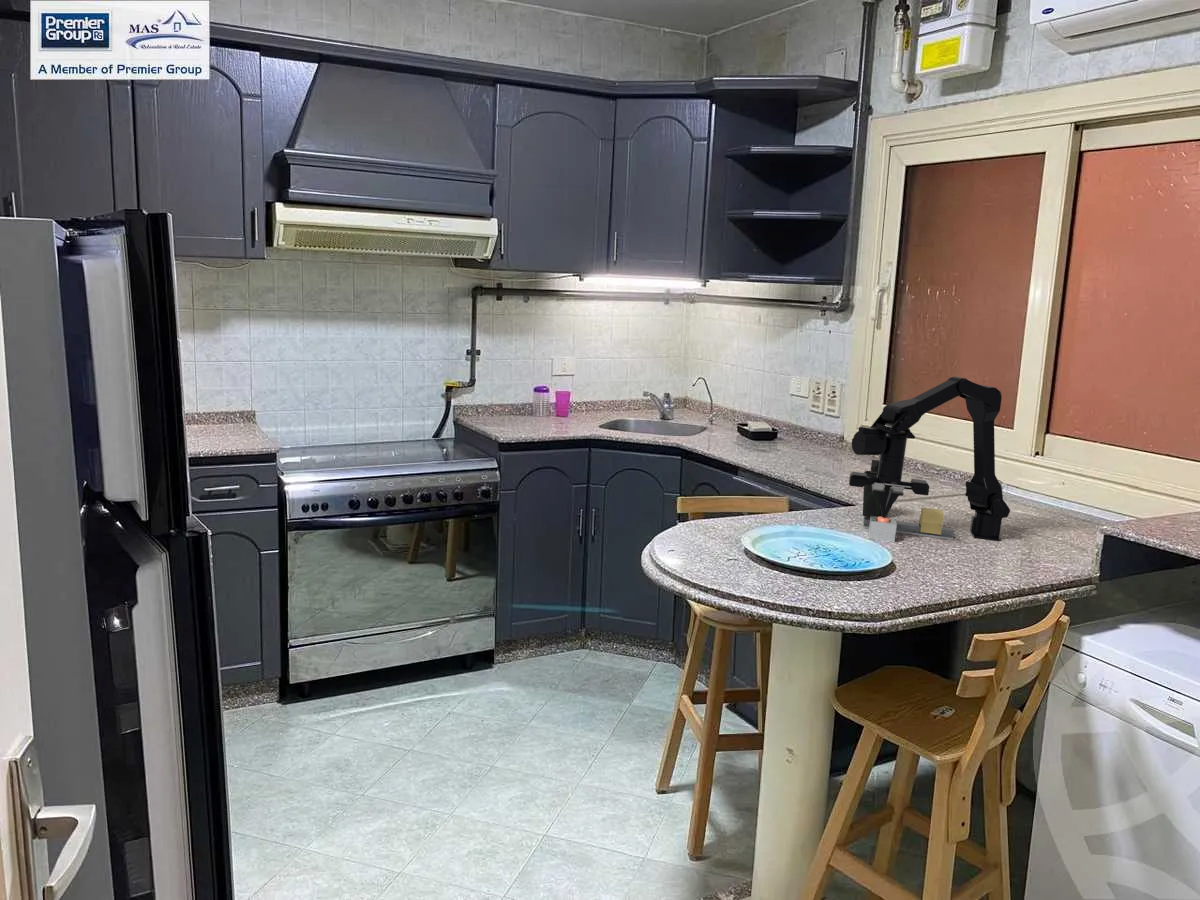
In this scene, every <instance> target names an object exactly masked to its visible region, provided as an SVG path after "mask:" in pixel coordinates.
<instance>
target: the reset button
mask: <svg viewBox="0 0 1200 900" xmlns="http://www.w3.org/2000/svg"><path fill="white" fill-rule="evenodd" d="M890 519H891V518H890V517H887V516H886V518H884V517H882V516H878V521H882V522H889V520H890Z"/></svg>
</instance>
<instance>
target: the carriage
mask: <svg viewBox="0 0 1200 900" xmlns="http://www.w3.org/2000/svg"><path fill="white" fill-rule="evenodd" d="M919 515H920V516H919V523H918V524H920V525H921V529H920V532H925V533H932V534H940V535H941V530H942V527H943V521H944V516H945V514H944V512H943V510H942V509H938V508H930V507H922V506H921V509H920V514H919Z"/></svg>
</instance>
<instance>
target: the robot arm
mask: <svg viewBox="0 0 1200 900" xmlns="http://www.w3.org/2000/svg"><path fill="white" fill-rule="evenodd" d="M957 397H960V398H961V399H963V400H965V404H966V409H967V412H968V414H969V416H970V417H971V419H972V425H973V427H972V428H973V429H972V430H973V432H972V433H973V473H974V474H973V476H972V478H971V479H970V480H966V482H965V489H966V490H965V495H964V496H965V497H967V501H968V502H969V506H970V510H971V511H974V515H973V516H971V521H970V528H969V531H970V533H971V535H972V537H973V538H977V539H978V538H979V539H984V540H993V541H1001V536H1000V533H1001V527H1002V523H1003V519H1004V518H1005V519H1006V518H1008V517H1009V515H1010V513H1011V509H1010V507H1009V506H1008V504H1007V503H1006V501H1005V500H1004V496H1003V490H1002V489H1003V488H1002V485H1001V483H1000V481H999V479H998V478H997V476H996V463H995V462H996V457H995V456H996V455H995V453H996V452H995V451H996V449H995V420H996V419H997V416H998V415H999V413H1000V411H1001V405H1002V392H1001V391H1000V390H999V389H998V388H997V387H993V386H989V385H983V384H978V383H975V382H973V381H971V380H969V379H967V378H965V377H959V376H952V377H949V378H948V379H947V380H945V381H943V382H942V383H939V384H938V385H936V386H934V387H931V388H930V389H928V390H926V391H924V392H923V393H922V392H921V393H920V394H918V395H916V396H915V397H912V398H910V399H903V400H897V401H895V402H892V403H888V404H886V405H885V406H884V407H883V408H882V412H881V413H880V414H879V416H878V417H877V418H876V419H875V420H874V422H873V423H872V425H871V426H870V427H866V426H859V427H858V431H857V432H855V433H854V435H853V438H852V439H851V450H852V451H853V453H854V454H855V455H857V456H858V455H859V456H879V460H878V459H871V463H870V470H869V471H870V472H871V473H877V475H876V477H877V478H873V477H867V475H866V473H864V472H858V471H851V472H849V473H850V474H849V478H848V485H849V486H850V487H855V488H864V486H865V485H866V484H869V485H872V491H873V492H875V493H877V495H878V498H879V501H880V507H881V513H882V517H884V518H886V517H887V515H888V514H889V512H890V511H891V508H892V506H894V504H895V502H896V500H897V499H898V498H899V497H903V496H904V491H905V490H911V491H912V492H913V493H914V495H920V496H929V492H930V485H929V483H928V482H927V481H926V480H924V479H919V478H918V479H916V478H911V480H910V481H904V480H902V476H903V470H904V464H905V463H904V462H905V455H906V449H907V441H908V439H910V440H914V439H916V436H915V434H914V433H912V431H911V427H913V426H914V425H915V424H918V422H919V421H920V420H921V418H922V416H924V415H925V414H926V413H928V412H930V411H933V410H934V409H937V408H938V407H940V406H942V405H944V404H945V403H949V401H951V400H953V399H955V398H957ZM883 482H884V483H883ZM891 483H892V484H891ZM885 487H891V488H890V491H889V496H888V500H887V503H886V507H885V490H884V488H885Z"/></svg>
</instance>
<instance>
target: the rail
mask: <svg viewBox="0 0 1200 900" xmlns="http://www.w3.org/2000/svg"><path fill="white" fill-rule="evenodd" d="M869 524H870V518H869V517H865V516H863V521H862V526H863V529H867V530H869ZM896 524H897V527H896V533H897V534H904V535H913V536H920V537H926V538H933V539H934V538H935V539H943V540H950V541H954V530H953V528H952V527H944V526H942V530H941V535H940V534H932V533H925V532H920V529H921V525H920V524H919V523H915V522H914V523H912V522H905V521H898V520H896Z"/></svg>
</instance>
